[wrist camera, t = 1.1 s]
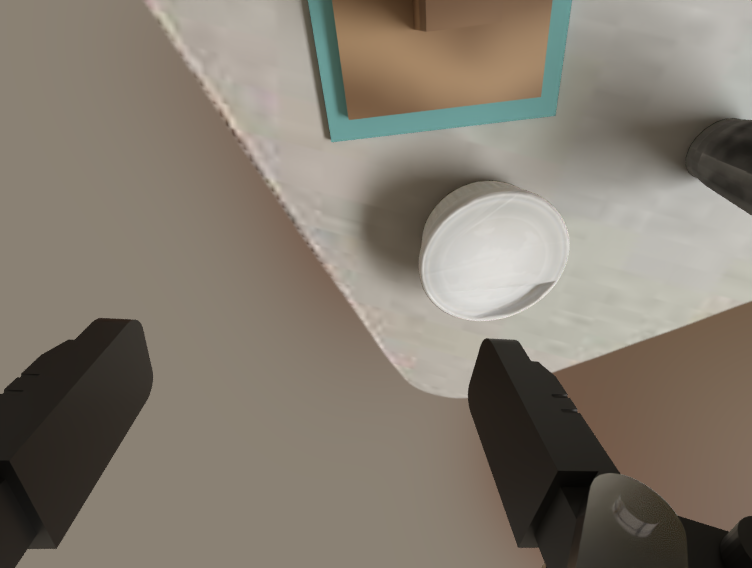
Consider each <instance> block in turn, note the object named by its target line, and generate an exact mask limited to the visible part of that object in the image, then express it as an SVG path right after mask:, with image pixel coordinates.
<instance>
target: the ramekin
mask: <svg viewBox="0 0 752 568" xmlns="http://www.w3.org/2000/svg"><path fill="white" fill-rule="evenodd" d="M569 248H570V242H569V234H568V230H567V227H566V225H565V222H564V220H563V218H562V217H561V215H560V214H559V212H558V211H557V210H556V209H555V208H554V207H553V206H552V205H551V204H550V203H549V202H548V201H546V200H545V199H544V198H542V197H541V196H539V195H537V194H535V193H532V192H530V191H527V190H523V189H520V188H518V187H516V186H514V185H511V184H507V183H505V182H497V181H483V182H475V183H471V184H468V185H465V186H462V187H461V188H459V189H456V190H455V191H453V192H452V193H450V194H448V195H447V196H446V197H445V198H444V199H442V200H441V202H440V203H439V204H437V205H436V207H435V208H434V210H433V211H432V212H431V214H430V216H429V217H428V219H427V222H426V224H425V227H424V230H423V237H422V246H421V250H420V254H419V275H420V279H421V283H422V287H423V289H424V291H425V293H426V295H427V296H428V297H429V299H430V300H431V301H432V302H433V303H434V304H435V305H436V306H437V307H438V308H439V309H441V310H442V311H444V312H445V313H447V314H449V315H451V316H454V317H457V318H460V319H465V320H471V321H490V320H497V319H502V318H506V317H509V316H512V315H515V314H517V313H520V312H522V311H523V310H525V309H527V308H529V307H531V306H532V305H534V304H535V303H537V302H538V301H539V300H541V299H542V298H543V297H544V296H545V295H546V294H547V293H548V292H549V291H550V290H551V289H552V288H553V287H554V285H555V284H556V283H557V281H558V280H559V278H560V277H561V275H562V273H563V271H564V268H565V266H566V263H567V260H568V255H569Z"/></svg>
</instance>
